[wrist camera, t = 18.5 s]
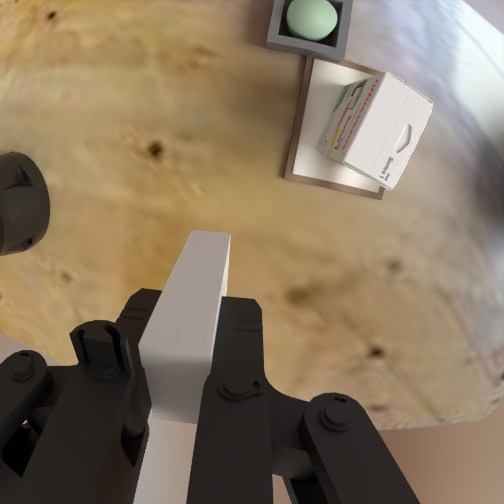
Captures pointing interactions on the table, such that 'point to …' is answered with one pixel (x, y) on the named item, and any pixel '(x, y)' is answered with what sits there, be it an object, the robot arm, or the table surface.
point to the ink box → (376, 127)
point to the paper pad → (314, 122)
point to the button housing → (302, 47)
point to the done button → (311, 19)
